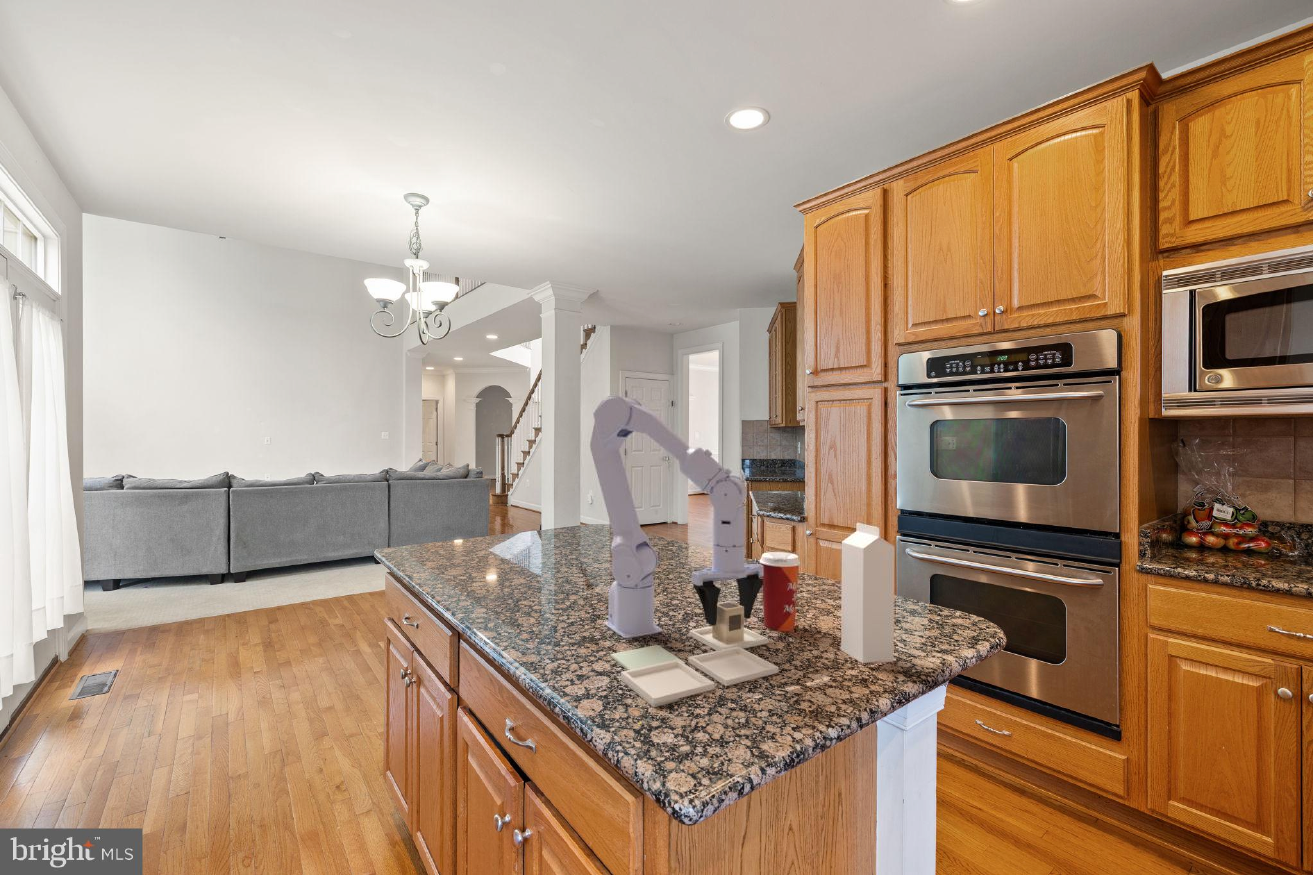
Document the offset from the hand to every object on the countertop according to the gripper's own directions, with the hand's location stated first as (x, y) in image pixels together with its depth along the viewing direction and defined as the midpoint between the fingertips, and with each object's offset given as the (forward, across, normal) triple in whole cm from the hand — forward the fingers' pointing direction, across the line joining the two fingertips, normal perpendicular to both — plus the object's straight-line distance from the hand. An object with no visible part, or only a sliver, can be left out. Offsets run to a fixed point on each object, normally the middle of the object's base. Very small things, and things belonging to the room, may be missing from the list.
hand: (728, 620), depth 102 cm
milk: (+4, +16, -17) cm, 24 cm away
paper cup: (+4, +13, +1) cm, 14 cm away
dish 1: (+4, -19, -10) cm, 22 cm away
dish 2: (+4, 0, 0) cm, 4 cm away
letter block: (+3, 0, 0) cm, 3 cm away
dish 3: (+4, -7, -10) cm, 13 cm away
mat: (+4, -17, -1) cm, 18 cm away
